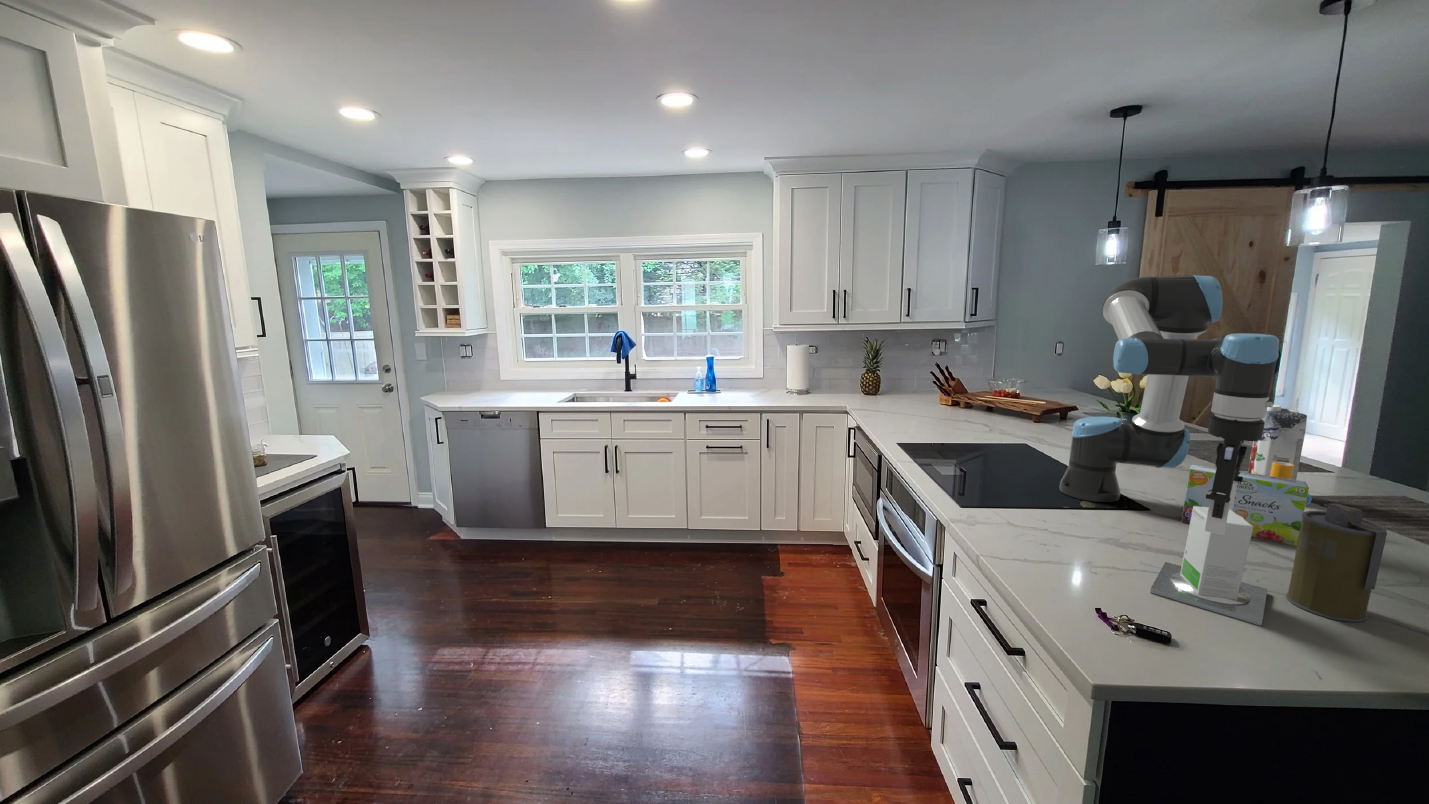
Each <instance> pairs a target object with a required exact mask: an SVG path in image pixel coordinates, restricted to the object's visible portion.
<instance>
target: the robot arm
mask: <svg viewBox="0 0 1429 804" xmlns="http://www.w3.org/2000/svg"><path fill="white" fill-rule="evenodd" d="M1221 287H1222V286H1221V284H1220V282H1219V280H1218V279H1217V278H1216V277H1214V276H1211V275H1195V274H1189V275H1168V276H1162V275H1161V276H1140V277H1135V278H1132V279H1129V280H1126V281H1123V282H1121V283H1120V284H1118V285H1116V286H1115V287H1113V288H1112V289H1110V291H1109V292H1108V293H1107V294H1106V295H1105V297H1104V299H1103V300H1102V304H1101V312H1102V313H1101V314H1102V315H1103V318H1104V319H1105V321H1106V322H1107V323H1108V324H1110V325H1112V327H1113V330H1114V333H1115V334H1116V337H1117V339H1118V340H1117V342H1115V346H1114V350H1113V359H1112V362H1113V368H1114V370H1115V371H1116V372H1117V373H1120V374H1121V373H1122V374H1131V375H1137V376H1138V375H1146V382H1145V386H1144V392H1143V396H1142V402H1141V406H1140V411H1139V413H1138V414H1136V415H1134V416H1132V418H1131V422H1130V423H1123V420H1122V419H1121V418H1120V417H1115V416H1089V417H1087V416H1086V417H1083V418H1079V419H1077V420H1076V421H1074V422H1073V427H1072V432H1071V443H1070V451H1069V459H1068V461H1069V462H1068V466H1067V468H1066V470H1065V472H1064V474H1063V476H1062V478H1061V479H1060V482H1059V491H1060V492H1061V493H1063V494H1064V495H1066V496H1069V497H1071V498H1075V499H1077V500H1084V501H1090V502H1097V503H1111V502H1112V503H1113V502H1117V501H1119V500H1120V498H1121V488H1120V485H1119V481H1118V477H1117V474H1116V469H1117V464H1123V465H1125V464H1126V465H1133V466H1145V467H1153V468H1156V469H1158V468H1159V469H1160V468H1161V469H1162V468H1168V469H1170V468H1171V469H1172V468H1173V469H1175V468H1177V467H1179V466H1180V465H1182V464H1183V462H1184V461H1185V459H1186V457H1187V456H1188V452H1189V450H1190V442H1191V433H1190V430H1189V429H1188V428H1186V427H1185V425H1186V424H1185V423H1184V421H1183V420H1181V418H1180V416H1181V412H1182V407H1183V402H1184V399H1185V394H1186V389H1187V385H1188V381H1189V377H1203V378H1204V377H1206V378H1207V377H1208V378H1216V381H1215V389H1214V391H1213V397H1212V403H1211V408H1210V409H1211V410H1210V411H1211V413H1213V414H1212V415H1211V416H1210V417H1209V422H1208V423H1209V424H1208V430H1207V431H1208V433H1209V435H1211V436H1214V437H1216V438H1222V439H1223V442H1219V444H1218V445H1217V448H1216V453H1215V454H1216V460H1215V468H1216V473H1215V478H1214V483H1213V487H1212V492H1211V494H1210V495H1209V494H1206V499H1210V503H1209V509H1208V515H1207V521H1206V527H1205V531H1207V532H1212V533H1216V534H1220V535H1224V534H1225V528H1226V523H1227V517H1228V512H1229V509H1230V510H1232V511H1233V505H1234V500H1235V494H1236V489H1237V483H1238V482H1242V480H1243V477H1241V476H1238V475H1239V474H1240V472H1241V465H1242V464H1243V462H1244V459H1245V457H1246V453H1247V450H1248V446H1246V445H1245V446H1244V444H1245V442H1253V441H1257V440H1260V439H1261V438H1262V436H1263V430H1264V425H1265V422H1264V421H1263V420H1262V419H1261V418H1264V417H1265V416H1266V412H1267V408H1266V407H1272V406H1273V405H1274V403H1273V402H1272V401H1269V400H1270V396H1271V391H1272V387H1273V381H1274V376H1275V372H1276V367H1277V363H1278V362H1277V361H1278V359H1279V356H1280V352H1279V348H1280V347H1279V346H1280V339H1279V338H1278V337H1277V336H1276V335H1273V334H1265V333H1246V332H1245V333H1230V334H1227V335H1225V337H1224V338H1222V337H1221V338H1220V337H1219V338H1213V339H1198V337H1199V336H1200V335H1202V334H1204V333H1205V332H1207V330H1208V328H1209V324H1213V323H1217V322H1218V321H1219V320H1220V317H1222V316H1221V315H1222V312H1223V302H1224V301H1223V291H1222V288H1221ZM1234 481H1238V482H1234Z"/></svg>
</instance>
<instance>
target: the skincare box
mask: <svg viewBox="0 0 1429 804" xmlns="http://www.w3.org/2000/svg"><path fill="white" fill-rule="evenodd" d="M1208 509H1209V507H1199V506H1193V510H1192V516H1191V521H1190V524H1189V526H1188V533H1187V538H1186V541H1185V548H1184V552H1183V557H1182V563H1181V566H1182V567H1181V572H1180V575H1181V576H1182V577H1183V578H1184V580H1185V581H1186V582H1187V583H1188V584H1189V585H1190V586H1191V587H1192V588H1193V589H1194V590H1195V591H1196V593H1197V594H1199V595H1205V596H1213V597H1220V598H1228V599H1235V600H1237V598H1238V593H1239V588H1240V584H1241V582H1242V579H1243V574H1244V569H1245V565H1246V561H1247V556H1248V551H1249V548H1250V543H1251V541H1252V537H1251V535H1252V531H1253V526H1252V525H1250V524H1249V523H1248V522H1246V521H1245V520H1244V518H1243V517H1241V516H1239V515H1237V514H1236V513H1234V512H1233V511H1232V510H1230V509H1229V512H1228V517H1227V523H1226V528H1225V534H1224V535H1220V534H1216V533H1212V532H1207V531H1205V527H1206V521H1207V515H1208Z"/></svg>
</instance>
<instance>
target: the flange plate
mask: <svg viewBox="0 0 1429 804" xmlns="http://www.w3.org/2000/svg"><path fill="white" fill-rule="evenodd" d="M1181 567H1182V565H1178V564H1175V563H1171V562H1167V561H1165V562H1164V563H1163V565H1162V567H1161V569H1160V571H1159V573H1158V575H1157V576H1156V578H1155V580H1154V582H1153V583H1152V584H1151V586H1150V594H1153V595H1157V596H1160V597H1163V598H1167V599H1171V600H1174V601H1177V602H1179V603H1184V604H1187V605H1190V606H1192V607H1193V606H1194V607H1197V608H1200V609H1204V610H1208V611H1209V612H1214V613H1217V614H1220V615H1224V616H1227V617H1230V618H1233V619H1236V620H1240V621H1243V622H1246V623H1250V624H1253V625H1256V626H1261V627H1262V625H1263V620H1264V615H1265V607H1266V601H1267V595H1268V588H1266V587H1262V586H1259V585H1254V584H1251V583H1247V582H1243V581H1241V584H1240V588H1239V593H1238V598H1237V600H1235V599H1228V598H1220V597H1213V596H1205V595H1199V594H1197V593H1196V591H1195V590H1194V589H1193V588H1192V587H1191V586H1190V585H1189V584H1188V583H1187V582H1186V581H1185V580H1184V578H1183V577H1182V576H1181V575H1180V572H1181Z"/></svg>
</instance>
